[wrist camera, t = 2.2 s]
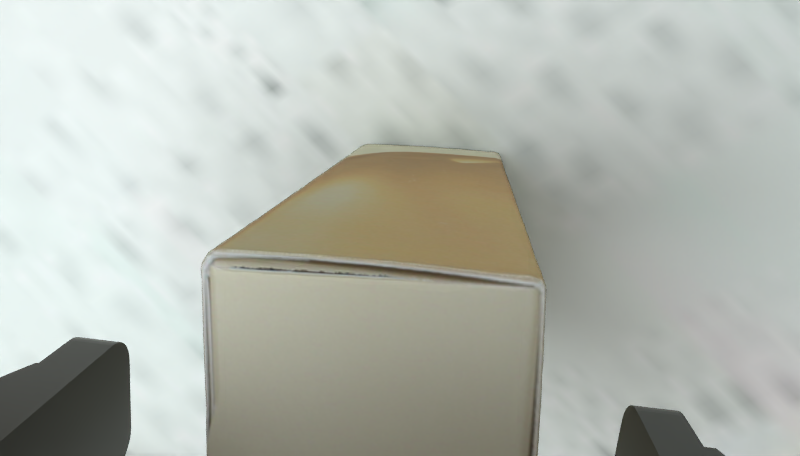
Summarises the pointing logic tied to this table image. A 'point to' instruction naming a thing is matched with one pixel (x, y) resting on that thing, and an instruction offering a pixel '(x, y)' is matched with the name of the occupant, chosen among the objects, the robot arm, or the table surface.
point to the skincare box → (378, 315)
